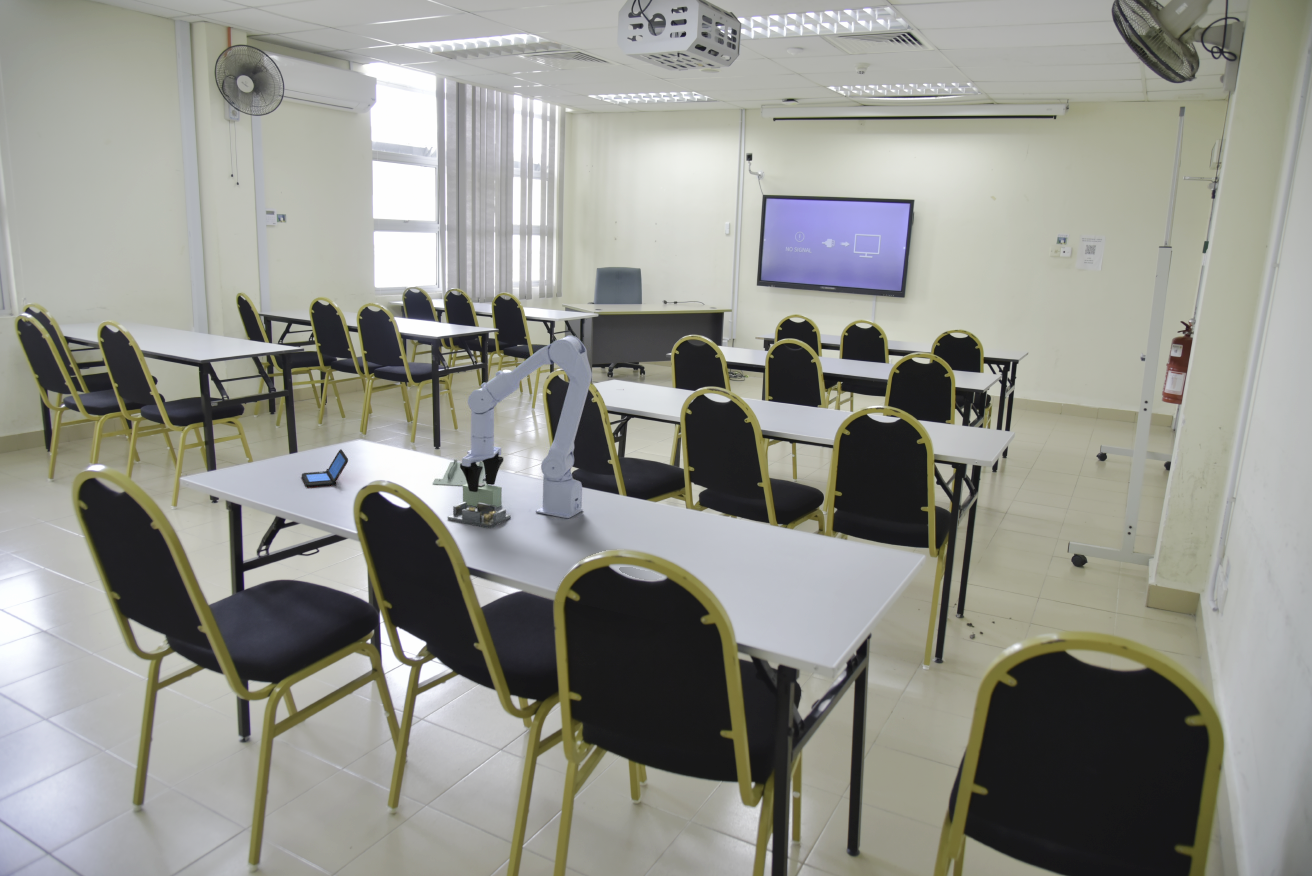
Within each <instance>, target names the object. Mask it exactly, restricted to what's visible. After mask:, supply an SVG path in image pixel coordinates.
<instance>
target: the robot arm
mask: <svg viewBox="0 0 1312 876" xmlns="http://www.w3.org/2000/svg"><path fill="white" fill-rule="evenodd" d="M553 364H555V365H557V366H558V367H559V368H561V369H562V370H563V372H564V373H565V374H566V376H567V377H568V378H569V384H568V388H567V391H566V394H565V398H564V401H563V404H562V409H561V412H560V413H561V414H560V416H559V421H558V424H557V427H556V431H555V435H554V439H553V442H552V443H551V445H550V447H549V450H548V453H547V455H546V457H544V458H543V460H542V462H541V466H540V470H541V472H542V474H543V475H542V476H543V478H542V480H543V481H542V507H539V508H538V509H536V510H535V513H539V514H544V515H548V516H554V517H559V518H566V519H570V518H572V517H574V516H576V515H577V514H579V513H580V512H583V510H584V509H583V507H582V504H583V485H582V482H581V481H579V480H576V479H574V478H573V474H572V471H571V469H572V468H573V466H574V464H575V456H574V450H575V439H576V436H577V432H578V428H579V426H580V421H581V417H582V414H583V410H584V406H585V403H586V400H587V396H588V393H589V389H590V385H591V381H592V378H593V373H592V369H591V365H590V362H589V358H588V352H587V348H586V347H585V345H584V343H583V342H582V341H581V339H579V338H578V337H576V336H574V335H566V336H564V337H561V338H560V339H556V340H554V341H553V342H552V343H550V344H548V345H545V346H544V347H542V348H540V349H538V350H536V352H534V353H533V354H532V355H531V356H529V357H528V358H527V359H525V360H524V361H523V362H521V363H520V364H518V365H517V367H515V368H514V369H513V370H510V369H504V370H498V371H496V372H495V373H494V375H495V376H494V377H493V378H491V379H490V380H488V381H486V382H483V383H481V385H480V386H481V388H478V389H474V390H473V391H472V392H471V393H470V394H469V396H468V398H467V404H468V407H469V409H470V413H471V414H470V450H467V452H466V453H467V454H466V456H464V457H461V464H460V468H461V470H462V471H463V473H464V475H465V478H466V481H467V484H468V488H469V491H472V492H477V491H478V486H479V477H480V473H481V470H482V468H483V467H482V466H477V464H476V463H479V462H480V461H483V464H484V468H485V476H484V479H485V480H484V481H486V484H488V485H492V486H495V483H496V480H497V476H498V473H499V469H500V468H501V465H502V464H503V462H504V457H503V456H501V455H502V447H499V446H498V447H497V446H494V445H495V407H496V406H497V405H498V403H501V402H502V401H503V400H505V399H506V398H507V397H509V396H510V395H512V394H513V393H515V391H517V390H519V388H520V382H521V381H522V380H523V379H525V378H527V377H528V376H529V375H532V373H534V372H535V371H536V370H538V369H539V368H541V367H542V366H544V365H546V366H547V365H553Z"/></svg>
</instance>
